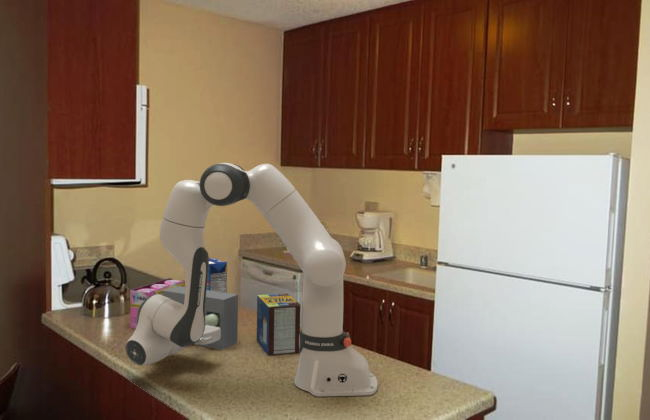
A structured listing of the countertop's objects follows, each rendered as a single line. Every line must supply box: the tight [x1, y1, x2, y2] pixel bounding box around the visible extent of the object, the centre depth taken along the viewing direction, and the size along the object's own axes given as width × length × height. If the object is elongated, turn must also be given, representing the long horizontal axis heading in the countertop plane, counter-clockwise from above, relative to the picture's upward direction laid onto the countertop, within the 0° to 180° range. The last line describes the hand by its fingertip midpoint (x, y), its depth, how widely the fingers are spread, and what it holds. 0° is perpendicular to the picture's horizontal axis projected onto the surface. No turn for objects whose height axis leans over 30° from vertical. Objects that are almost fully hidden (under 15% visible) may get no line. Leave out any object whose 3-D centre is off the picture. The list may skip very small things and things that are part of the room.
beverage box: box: [207, 257, 228, 293], centre depth 209 cm, size 7×11×22 cm, turn 40°
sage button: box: [205, 313, 220, 326], centre depth 177 cm, size 4×4×4 cm
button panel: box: [162, 286, 239, 351], centre depth 185 cm, size 24×8×16 cm, turn 66°
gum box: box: [129, 277, 186, 330], centre depth 206 cm, size 24×8×14 cm, turn 160°
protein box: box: [256, 292, 302, 356], centre depth 181 cm, size 10×15×16 cm
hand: (203, 324), depth 173 cm, fingers closed
